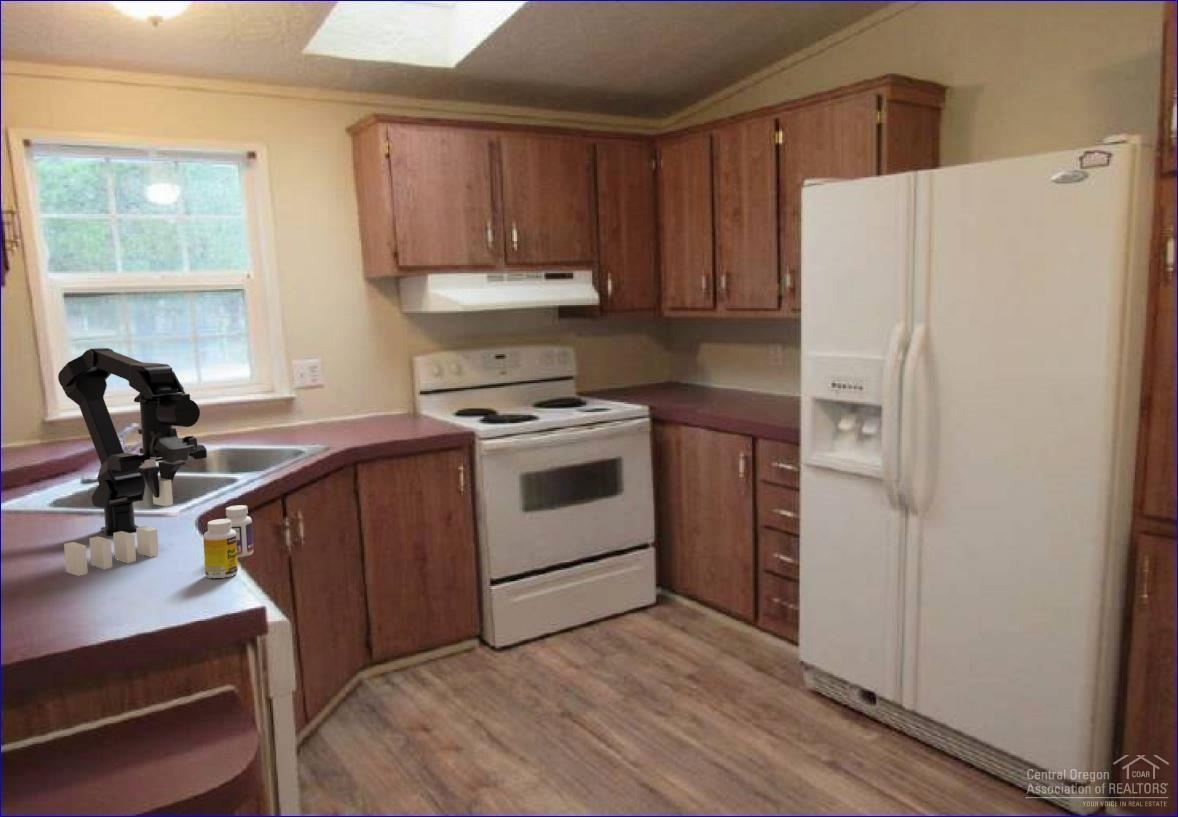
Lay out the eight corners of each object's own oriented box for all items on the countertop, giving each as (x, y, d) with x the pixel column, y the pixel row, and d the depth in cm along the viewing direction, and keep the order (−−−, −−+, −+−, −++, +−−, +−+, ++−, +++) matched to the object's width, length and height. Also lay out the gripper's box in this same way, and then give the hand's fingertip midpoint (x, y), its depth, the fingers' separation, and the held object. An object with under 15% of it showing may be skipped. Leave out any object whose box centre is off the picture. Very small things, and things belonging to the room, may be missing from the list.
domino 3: (127, 563, 157) (126, 536, 156) (115, 559, 159) (113, 532, 159) (136, 561, 158) (134, 534, 158) (123, 557, 161) (121, 531, 160)
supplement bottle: (231, 579, 148) (228, 525, 146) (200, 580, 147) (197, 525, 146) (242, 570, 153) (240, 517, 152) (212, 570, 153) (210, 517, 152)
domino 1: (78, 576, 149) (76, 547, 149) (66, 571, 152) (63, 543, 151) (87, 573, 151) (85, 545, 150) (75, 569, 153) (73, 541, 153)
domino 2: (103, 569, 153) (101, 541, 153) (91, 565, 156) (89, 538, 155) (112, 567, 155) (110, 539, 154) (99, 563, 157) (97, 536, 156)
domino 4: (150, 557, 161) (149, 531, 160) (138, 553, 163) (136, 527, 163) (158, 555, 162) (156, 529, 162) (145, 551, 165) (144, 526, 164)
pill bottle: (245, 549, 167) (242, 502, 165) (258, 554, 163) (256, 506, 162) (219, 555, 162) (216, 507, 161) (232, 560, 159) (230, 512, 158)
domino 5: (165, 506, 170) (163, 481, 170) (153, 503, 173) (151, 478, 172) (172, 504, 172) (171, 479, 171) (160, 502, 174) (159, 477, 173)
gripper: (133, 432, 158) (138, 510, 160) (220, 421, 174) (224, 492, 176) (103, 428, 164) (108, 503, 166) (190, 418, 180) (194, 487, 182)
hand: (161, 496), depth 172 cm, fingers closed on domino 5, 2 cm apart
